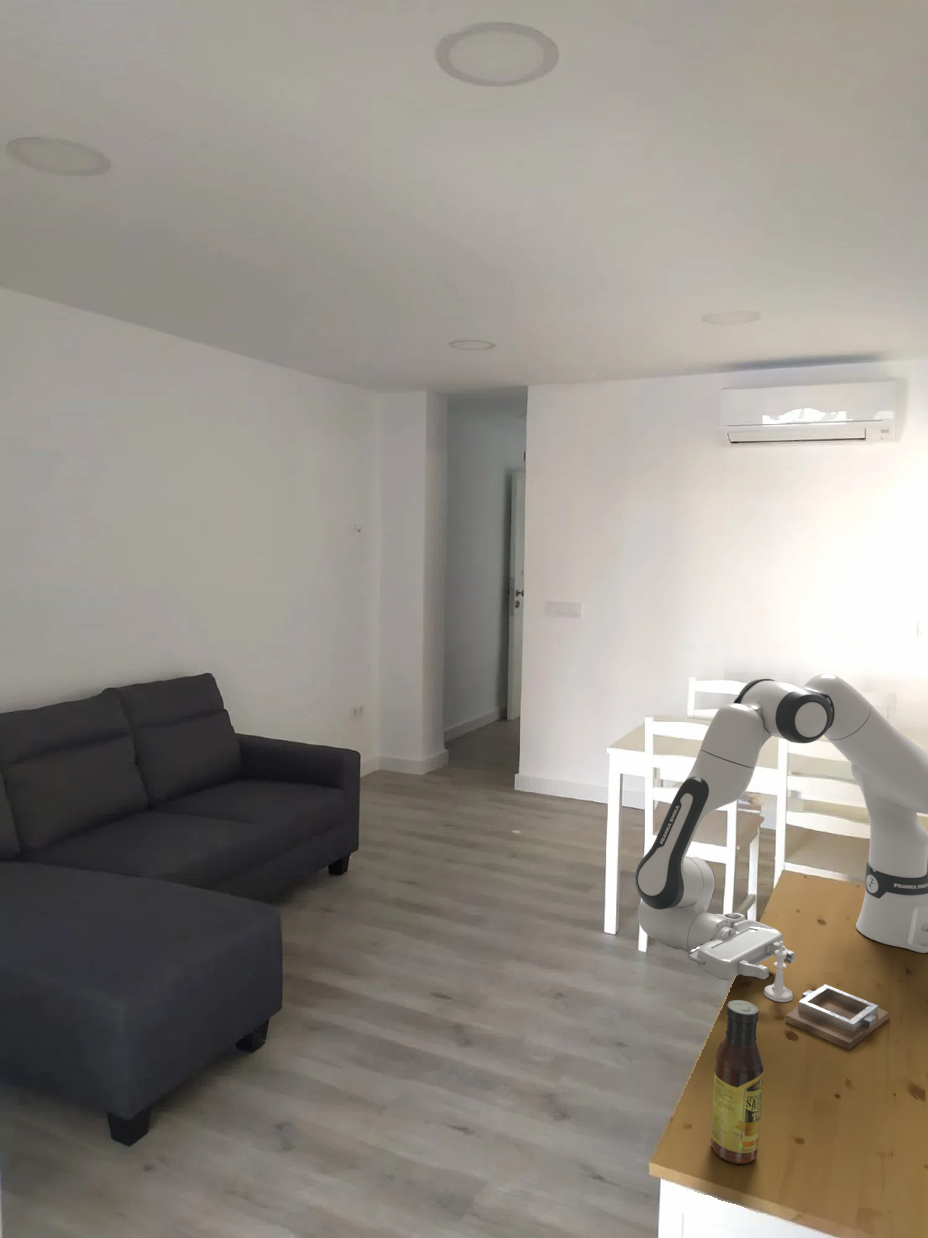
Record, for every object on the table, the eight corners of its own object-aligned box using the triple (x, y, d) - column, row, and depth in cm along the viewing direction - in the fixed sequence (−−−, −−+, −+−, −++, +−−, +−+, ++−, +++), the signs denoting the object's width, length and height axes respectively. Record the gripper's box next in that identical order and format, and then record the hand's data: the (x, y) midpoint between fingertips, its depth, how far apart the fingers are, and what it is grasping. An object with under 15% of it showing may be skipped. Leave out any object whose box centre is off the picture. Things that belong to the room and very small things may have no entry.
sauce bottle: (751, 1174, 115) (760, 1026, 113) (703, 1155, 118) (711, 1011, 117) (764, 1145, 121) (772, 1004, 119) (718, 1128, 124) (725, 991, 122)
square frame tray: (791, 1008, 155) (792, 998, 154) (818, 991, 161) (818, 982, 161) (859, 1038, 146) (860, 1027, 146) (884, 1018, 152) (885, 1008, 152)
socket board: (785, 1021, 153) (786, 1015, 152) (827, 994, 163) (827, 987, 162) (849, 1050, 144) (849, 1043, 144) (888, 1019, 154) (889, 1012, 154)
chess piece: (778, 1004, 158) (782, 950, 157) (757, 992, 163) (761, 939, 162) (798, 998, 161) (802, 945, 160) (777, 986, 165) (780, 934, 164)
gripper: (682, 939, 164) (750, 966, 154) (742, 910, 178) (808, 934, 168) (681, 972, 165) (749, 1001, 154) (740, 941, 178) (806, 966, 168)
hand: (780, 966), depth 161 cm, fingers open, 8 cm apart
